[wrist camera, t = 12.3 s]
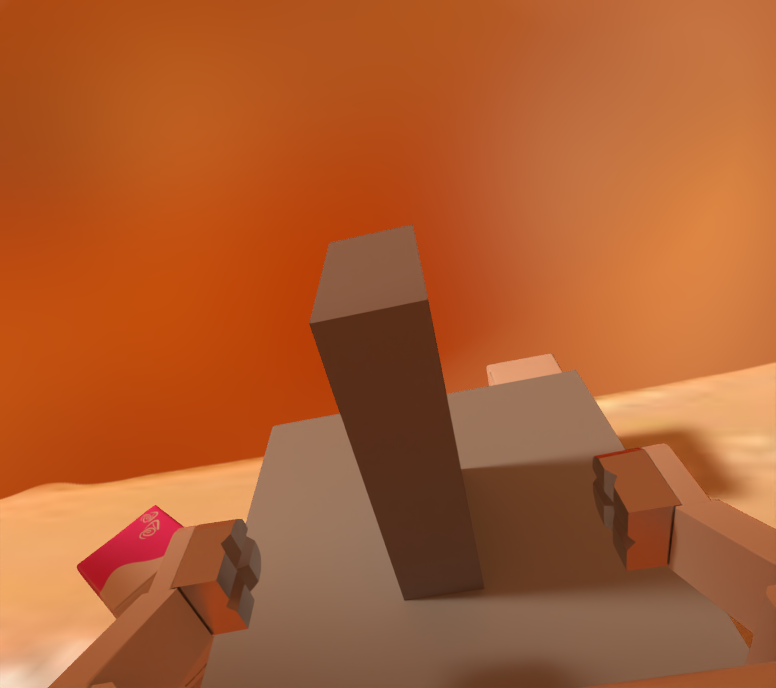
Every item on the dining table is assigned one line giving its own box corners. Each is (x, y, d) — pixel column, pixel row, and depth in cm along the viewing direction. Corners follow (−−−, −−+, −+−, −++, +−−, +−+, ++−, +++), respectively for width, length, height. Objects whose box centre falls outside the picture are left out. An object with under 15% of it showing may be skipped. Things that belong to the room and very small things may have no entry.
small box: (589, 514, 39) (588, 412, 34) (518, 525, 39) (506, 426, 34) (558, 444, 46) (553, 350, 40) (498, 454, 46) (485, 363, 41)
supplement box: (261, 635, 36) (198, 536, 30) (193, 714, 33) (107, 617, 27) (218, 596, 40) (154, 501, 34) (152, 663, 36) (68, 569, 30)
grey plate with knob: (173, 848, 12) (-178, 589, 7) (278, 438, 25) (188, 234, 19) (814, 782, 11) (1045, 383, 5) (576, 383, 23) (570, 147, 18)
